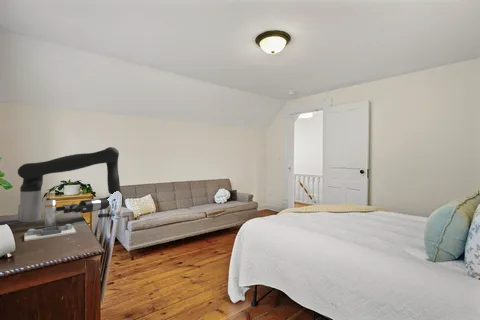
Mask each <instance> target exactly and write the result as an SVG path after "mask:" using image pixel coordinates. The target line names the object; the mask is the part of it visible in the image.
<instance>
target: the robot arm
mask: <svg viewBox="0 0 480 320" xmlns="http://www.w3.org/2000/svg"><path fill="white" fill-rule="evenodd" d="M119 152H120V151H119V150H118V149H117V148H115V147H111V146H110V147H107V148H104V149H102V150H99V151H95V152H89V153H87V152H86V153H75V154H70V155H65V156H61V157H57V158H54V159H50V160H46V161H38V162H28V163H24V164H22V165H21V166H20V167H19V168H18V169H17V175H18V176H19V177H20V179H21V178H22V184H21V186H20V187H19V188H20V190H19V191H20V195H19V200H20V201H19V204H18V205H17V206H18V209H17V210H18V213H17V214H18V215H17V218H18V219H17V222H19V223H30V222H31V223H32V222H37V221H41V219H42V218H41V217H42V186H43V181H44V176H45V175H49V174H56V173H57V174H58V173H64V172H65V173H66V172H71V171H75V170H77V171H78V170H81V169H85V168H88V167H90V166H94V165H100V164H106V172H107V175H106V176H107V177H106V178H107V180H106V181H107V191H108V193H109V194H110V195H109V196H105V197H102V198H92V199H82V200H80V202H79V203H70V204H63V205H61V206H56V212H61V211H62V212H63V214H69V213H73V214H74V213H75V214H77V213H81V214H87V213H93V212H96V211H101V210H106V209H108V208H109V207H108V206H109V201H108V200H107V199H108V198H109V197H110V196H111V194H113V193H114V192H116V191H119V192H120V193H121V194H122V206H123V205H124V202H125V201H124V196H123V193H122V190H121V184H120V176H119V166H118V165H119V156H120V153H119Z"/></svg>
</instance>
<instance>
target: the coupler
mask: <svg viewBox="0 0 480 320" xmlns="http://www.w3.org/2000/svg"><path fill="white" fill-rule="evenodd" d="M44 201H45V203H44V208H45V209H44V228H50V227H57V211H56V207H57V200H56V199H48V200H44Z"/></svg>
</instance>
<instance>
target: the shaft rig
mask: <svg viewBox="0 0 480 320" xmlns="http://www.w3.org/2000/svg"><path fill="white" fill-rule="evenodd" d="M75 234H77V230H76V228H75V227H74V226H73V224H71V223H66V224H65V225H59V226H57V225H56V227H50V228H45V227H44V228H39V229H35V228H29V229H27V232H25V233H24V237H23V238H24V242H29V241H35V240H36V241H37V240H42V239H48V238H55V237H62V236H68V235H75Z"/></svg>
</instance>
